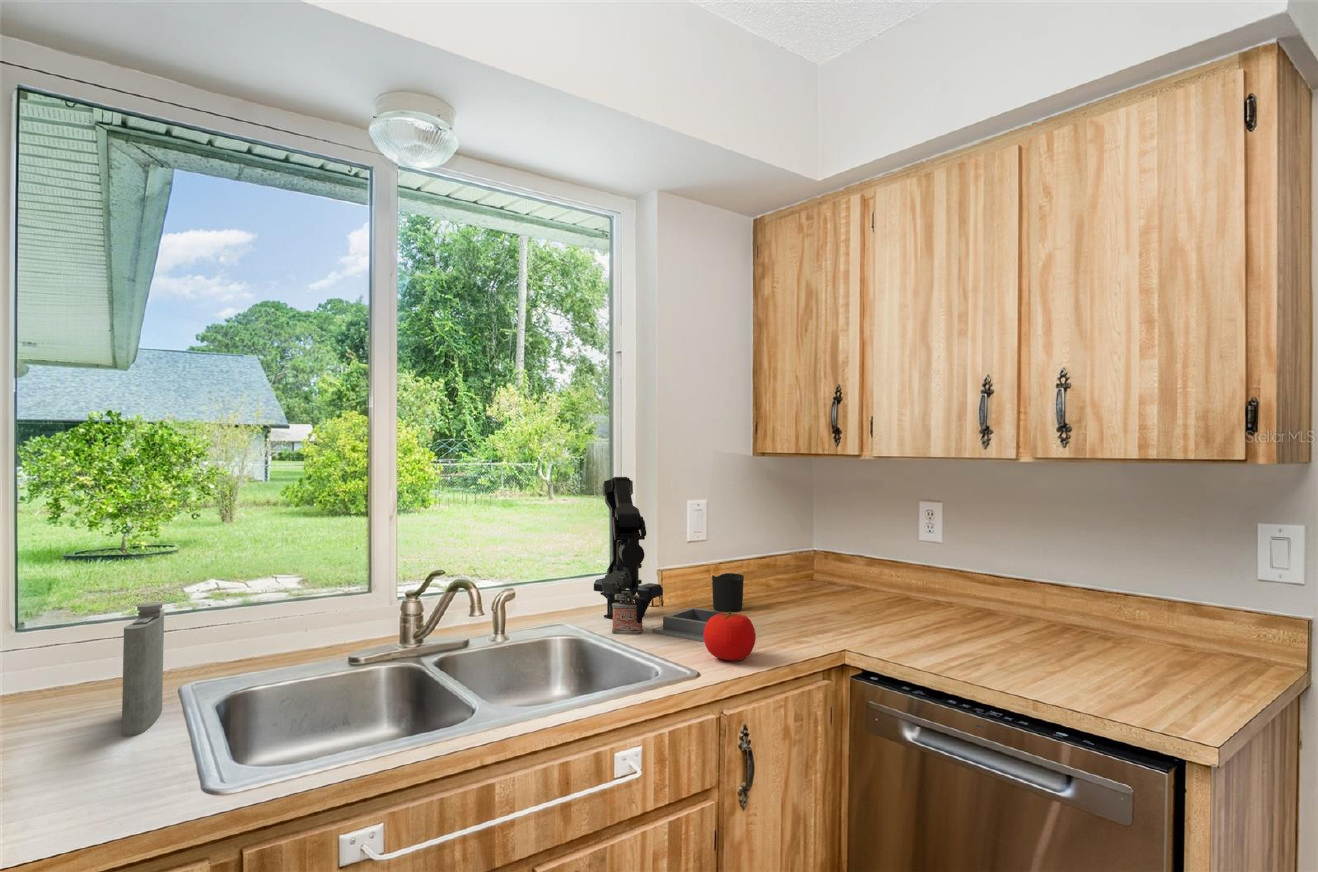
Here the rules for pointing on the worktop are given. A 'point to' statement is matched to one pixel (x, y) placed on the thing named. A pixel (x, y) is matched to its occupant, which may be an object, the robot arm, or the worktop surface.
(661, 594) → the robot arm
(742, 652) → the tomato
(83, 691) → the worktop surface
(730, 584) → the pen holder
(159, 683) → the hip flask
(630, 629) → the lighter
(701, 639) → the stand
